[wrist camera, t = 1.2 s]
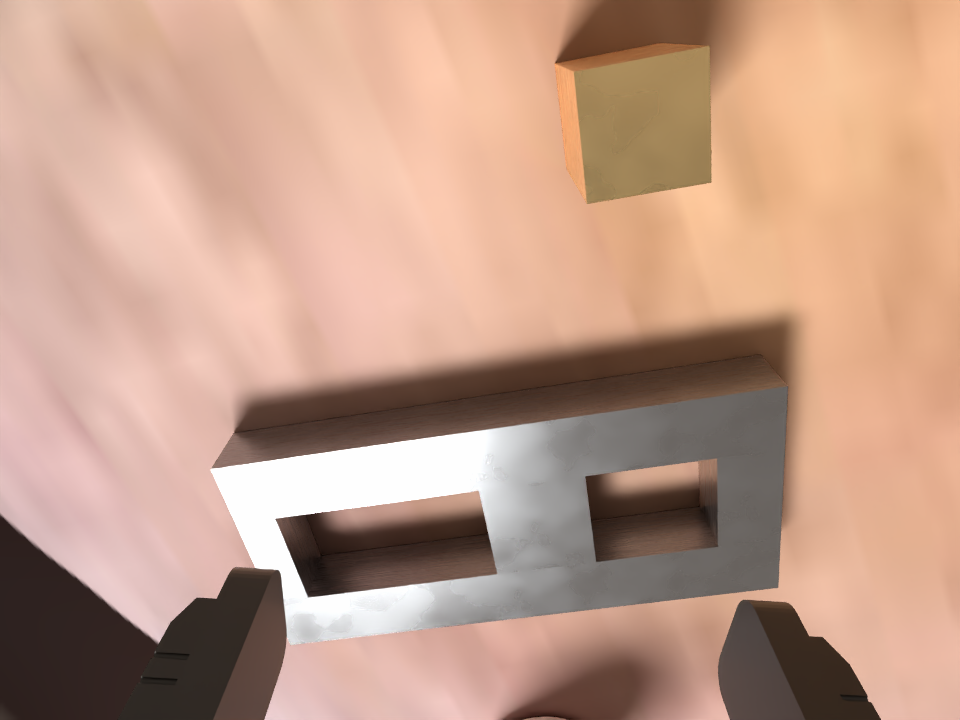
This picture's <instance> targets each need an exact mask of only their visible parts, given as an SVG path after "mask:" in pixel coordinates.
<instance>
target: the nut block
mask: <svg viewBox="0 0 960 720" xmlns="http://www.w3.org/2000/svg"><path fill="white" fill-rule="evenodd" d="M555 70H556V79H557V88H558V97H559V106H560V115H561V124H562V133H563V141H564V150H565V159H566V168H567V171H568V172H569V174H570V176H571V178H572V179H573V181H574V183H575V184H576V186H577V188H578V189H579V191H580V193H581V195H582V196H583V198H584V200H585V201H586V203H587V204H590V203H596V202H601V201H607V200H613V199H619V198H625V197H630V196H636V195H642V194H648V193H653V192H659V191H665V190H671V189H677V188H682V187H688V186H694V185H700V184H706V183H711V106H710V46H703V45H686V44H668V43H658V44H653V45H648V46H643V47H637V48H632V49H627V50H622V51H617V52H611V53H606V54H601V55H596V56H591V57H586V58H580V59H575V60H570V61H565V62H560V63H555Z"/></svg>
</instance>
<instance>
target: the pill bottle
mask: <svg viewBox="0 0 960 720" xmlns="http://www.w3.org/2000/svg"><path fill="white" fill-rule="evenodd" d="M524 720H567V719H563V718H559V717H534V718H528V719H524Z"/></svg>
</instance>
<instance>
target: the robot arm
mask: <svg viewBox="0 0 960 720" xmlns="http://www.w3.org/2000/svg"><path fill="white" fill-rule="evenodd" d="M286 638H287V628H286V618H285V608H284V598H283V588H282V579H281V573H280V571H279V570H276V569H259V568H243V567H235V568H233V569H232V570H231V572H230V573H229V575H228V577H227V579H226V581H225V583H224V585H223V587H222V589H221V591H220V593H219V595H218V597H217V599H211V598H196V599H195V600H194V601H193V602H192V603H191V604H190V605H189V606H187V607H186V608H185V609H184V610H183V611H182V612H181V613H180V614H179V615H178V616H177V617H176V618H175V619H174V620H173V621H171V623H170V624H169V626H168V628H167V630H166V632H165V634H164V635H163V637H162V639H161V641H160V643H159V645H158V646H157V648H156V650H155V654H154V657H153V658H151V659H150V661H149V663H148V665H147V667H146V668H145V671H144V673H143V674H142V676H141V681H140V683H137V685H136V687H135V689H134V691H133V692H132V694H131V696H130V698H129V700H128V702H127V703H126V705H125V707H124V709H123V711H122V713H121V714H120V716H119V718H118V720H264V719H265V716H266V712H267V709H268V706H269V703H270V700H271V697H272V694H273V691H274V688H275V685H276V682H277V679H278V676H279V673H280V670H281V667H282V663H283V659H284V654H285V648H286ZM718 677H719V685H720V690H721V694H722V698H723V701H724V704H725V706H726V709H727V712H728V715H729V718H730V720H881V719H880V717H879V715H878V713H877V712H876V710H875V708H874V706H873V705H872V703H871V702H868V699H867V697H868V696H867V694H866V692H865V691H864V689H863V687H862V685H861V683H860V682H859V680H858V678H857V676H856V675H855V673H854V671H853V669H852V668H851V666H850V664H849V663H848V662H847V661H846V660H845V659H844V658H843V657H842V656H841V655H840V654H839V653H838V652H837V651H836V650H835V649H834V648H833V647H832V646H831V645H830V644H829V643H828V642H827V641H826V640H825V639H824V638H823V637H811V636H809V635H808V633H807V631H806V629H805V628H804V626H803V624H802V622H801V620H800V618H799V616H798V614H797V613H796V611H795V609H794V608H793V607H792V606H791V605H790V604H789V603H786V602H771V601H755V600H742V601H741V602H740V603H739V605H738V607H737V609H736V612H735V615H734V618H733V621H732V624H731V626H730V629H729V632H728V635H727V638H726V641H725V643H724V646H723V649H722V652H721V655H720V658H719V665H718Z"/></svg>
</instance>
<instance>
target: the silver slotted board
mask: <svg viewBox="0 0 960 720" xmlns="http://www.w3.org/2000/svg"><path fill="white" fill-rule="evenodd" d="M787 396H788V386H787V385H786V383H785V382H784V381H783V380H782V379H781V377H780V376H779V375H778V374H777V373H776V372H775V370H774V369H773V368H772V367H771V366H770V365H769V363H768V362H767V361H766V360H765V359H764V358H763V356H762V355H756V356H749V357H742V358H735V359H729V360H722V361H715V362H709V363H702V364H695V365H688V366H682V367H675V368H668V369H662V370H655V371H648V372H641V373H635V374H628V375H621V376H615V377H608V378H601V379H594V380H588V381H581V382H574V383H568V384H561V385H554V386H547V387H541V388H534V389H527V390H521V391H514V392H507V393H500V394H494V395H487V396H480V397H474V398H467V399H460V400H453V401H447V402H440V403H433V404H427V405H420V406H413V407H406V408H400V409H393V410H386V411H380V412H373V413H366V414H359V415H353V416H346V417H339V418H333V419H326V420H319V421H312V422H306V423H299V424H292V425H286V426H279V427H272V428H265V429H259V430H252V431H245V432H239V433H233V435H232V437H231V438H230V440H229V441H228V443H227V445H226V446H225V448H224V449H223V451H222V453H221V454H220V456H219V457H218V459H217V460H216V462H215V464H214V465H213V467H212V468H211V471H212V473H213V475H214V477H215V480H216V482H217V484H218V486H219V488H220V491H221V493H222V495H223V497H224V499H225V502H226V504H227V506H228V508H229V510H230V513H231V515H232V517H233V519H234V521H235V524H236V526H237V528H238V530H239V532H240V535H241V537H242V539H243V541H244V543H245V546H246V548H247V550H248V552H249V554H250V557H251V559H252V561H253V563H254V565H255V568H259V569H276V570H279V571H280V573H281V579H282V588H283V598H284V608H285V618H286V628H287V638H288V640H289V642H290V645H295V644H303V643H312V642H320V641H329V640H337V639H346V638H354V637H363V636H371V635H380V634H388V633H397V632H405V631H414V630H422V629H431V628H439V627H448V626H456V625H465V624H473V623H482V622H490V621H499V620H507V619H516V618H524V617H533V616H541V615H550V614H558V613H567V612H575V611H584V610H592V609H601V608H609V607H618V606H626V605H635V604H643V603H652V602H660V601H669V600H678V599H686V598H695V597H703V596H712V595H720V594H729V593H737V592H746V591H754V590H763V589H771V588H778V581H779V561H780V540H781V520H782V499H783V478H784V458H785V437H786V417H787ZM694 461H699V492H700V507H693V508H686V509H678V510H670V511H663V512H655V513H647V514H639V515H632V516H624V517H616V518H609V519H601V520H593V521H591V518H590V510H589V502H588V494H587V486H586V478H585V476H591V475H598V474H606V473H613V472H621V471H628V470H635V469H643V468H650V467H657V466H665V465H672V464H679V463H687V462H694ZM473 491H479V494H480V498H481V503H482V507H483V512H484V516H485V521H486V525H487V530H488V534H485V535H478V536H470V537H462V538H454V539H447V540H439V541H431V542H424V543H416V544H408V545H400V546H393V547H385V548H377V549H370V550H362V551H354V552H347V553H339V554H331V555H323V556H321V554H320V551H319V549H318V546H317V544H316V541H315V538H314V536H313V533H312V531H311V528H310V526H309V523H308V520H307V518H306V515H305V514H311V513H319V512H326V511H334V510H341V509H348V508H356V507H363V506H370V505H378V504H385V503H392V502H400V501H407V500H414V499H422V498H429V497H437V496H444V495H451V494H459V493H466V492H473Z"/></svg>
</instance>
